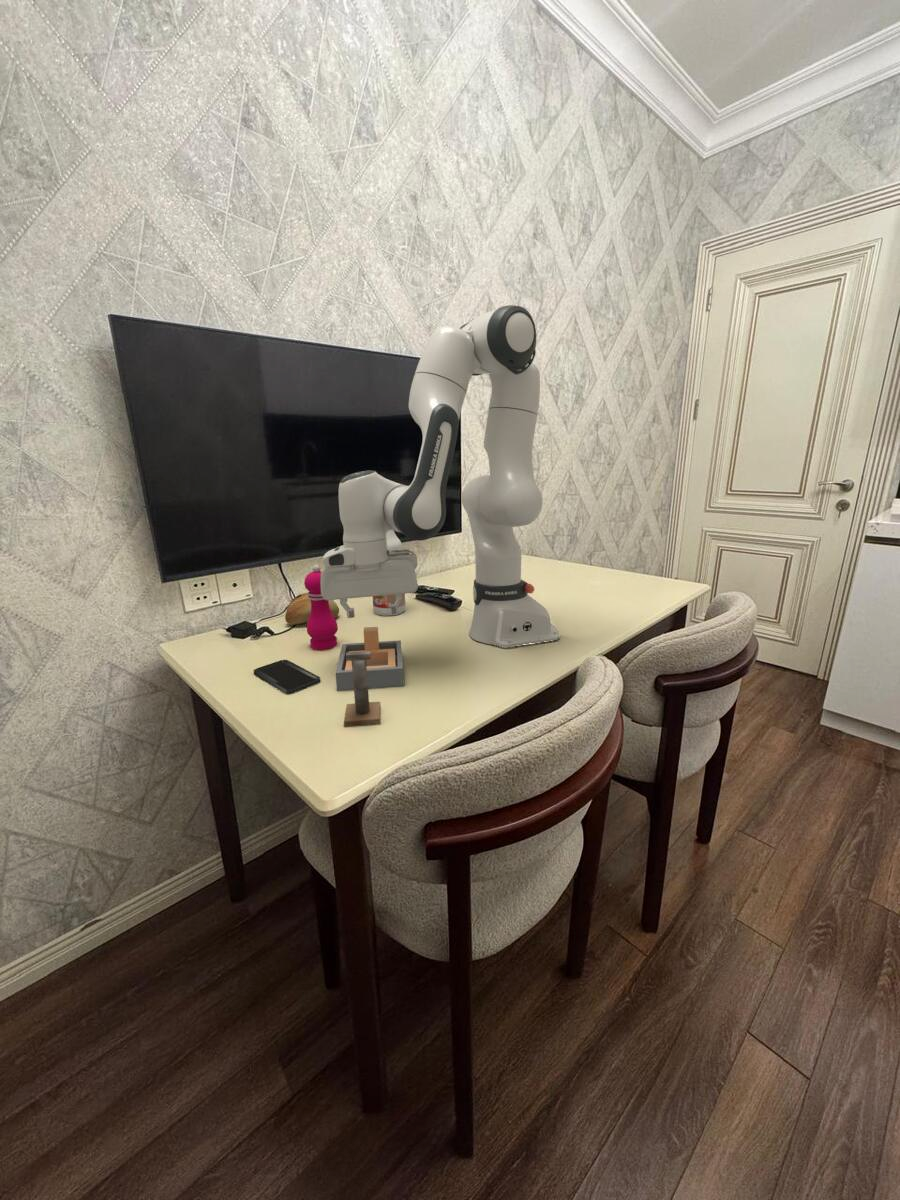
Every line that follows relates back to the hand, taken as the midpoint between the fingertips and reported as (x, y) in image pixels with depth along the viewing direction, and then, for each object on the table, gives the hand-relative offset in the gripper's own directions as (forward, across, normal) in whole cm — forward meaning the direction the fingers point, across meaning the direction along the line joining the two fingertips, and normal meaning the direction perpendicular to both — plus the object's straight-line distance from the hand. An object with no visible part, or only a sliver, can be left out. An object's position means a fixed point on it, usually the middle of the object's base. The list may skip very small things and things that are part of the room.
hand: (373, 615), depth 103 cm
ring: (+10, +1, +5) cm, 11 cm away
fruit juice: (+12, -3, -36) cm, 37 cm away
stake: (+10, +2, +24) cm, 26 cm away
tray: (+11, +1, +6) cm, 12 cm away
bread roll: (+11, +19, -31) cm, 38 cm away
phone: (+11, +19, +5) cm, 22 cm away
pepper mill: (+11, +13, -12) cm, 21 cm away
